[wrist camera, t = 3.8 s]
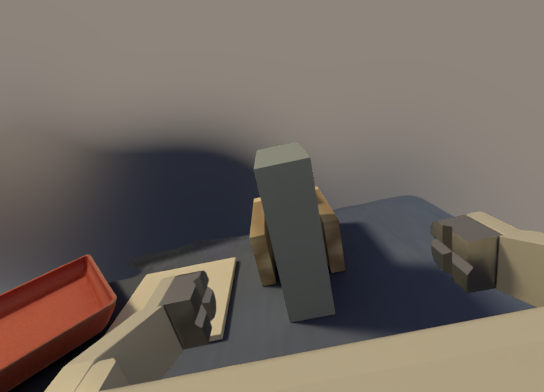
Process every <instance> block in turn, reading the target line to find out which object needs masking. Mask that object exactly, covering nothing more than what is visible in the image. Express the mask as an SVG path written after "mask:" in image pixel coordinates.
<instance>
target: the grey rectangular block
mask: <svg viewBox="0 0 544 392" xmlns="http://www.w3.org/2000/svg"><path fill="white" fill-rule="evenodd" d="M254 173H255V176H256V181H257V185H258V189H259V194H260V198H261V202H262V206H263V211H264V215H265V219H266V223H267V227H268V232H269V236H270V240H271V244H272V248H273V252H274V257H275V261H276V265H277V269H278V273H279V278H280V282H281V286H282V290H283V294H284V299H285V303H286V307H287V311H288V315H289V320H290V322H296V321H301V320H307V319H312V318H317V317H323V316H328V315H334V314H335V308H334V302H333V296H332V290H331V283H330V277H329V271H328V265H327V259H326V253H325V246H324V240H323V234H322V228H321V222H320V216H319V209H318V203H317V197H316V191H315V185H314V178H313V172H312V166H311V160H310V157H309V156H308V154H307V153H306V152H305V151H304V150H303V149H302V148H301V146H300V145H299V144H298V143H297V142H294V143H289V144H285V145H280V146H275V147H271V148H266V149H261V150H258V151H257V153H256V159H255V165H254Z"/></svg>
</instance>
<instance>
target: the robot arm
mask: <svg viewBox="0 0 544 392" xmlns="http://www.w3.org/2000/svg"><path fill="white" fill-rule="evenodd" d="M431 234H432V235H433V236H434V237H435V240H434V241H433V243H432V244H431V249H432V255H433V258H434V260H435V262H436V264H437V265H438V266H439V267H440V268H441V269H442V270H443V271H445V272H447V273H450V274H452V280H454V281H455V282H456V283H457V284H458V285H459V286H460V287H461V288H462V289H463V290H464V291H466V292H467V293H471V292H477V291H483V290H489V289H495V288H496V290H499V291H501V292H503V293H505V294H508V295H510V296H512V297H515V298H517V299H519V300H522V301H524V302H526V303H529V304H531V305H533V306H536V307H538V308H533V309H527V310H522V311H517V312H512V313H507V314H501V315H496V316H491V317H486V318H480V319H475V320H470V321H465V322H459V323H454V324H449V325H444V326H438V327H433V328H428V329H423V330H418V331H412V332H407V333H402V334H397V335H391V336H386V337H381V338H376V339H371V340H365V341H360V342H355V343H350V344H345V345H339V346H334V347H329V348H324V349H318V350H313V351H308V352H303V353H297V354H292V355H287V356H282V357H276V358H271V359H266V360H261V361H255V362H250V363H245V364H240V365H234V366H229V367H224V368H219V369H214V370H208V371H203V372H198V373H193V374H187V375H182V376H177V377H172V378H166V379H162V378H163V376H164V375H165V374H166V372H167V371H168V370H169V369H170V367H171V366H172V365H173V364H174V362H175V361H176V360H177V358H178V357H179V356H180V355H181V353H182V352H183V350H184V349H188V348H193V347H197V346H202V345H206V344H208V343H209V339H210V335H211V331H212V325H211V323H210V322H211V321H212V320H213V319H214V317H215V314H216V299H215V295H214V292H213V290H212V289H211V288H209V287H208V286H207V285H208V282H209V278H208V276H207V273H206V272H205V271H204V270H203V271H197V272H192V273H187V274H182V275H177V276H171V277H167V278H164V279H161V281H160V283H159V284H158V286H157V288H156V289H155V291H154V292H153V294H152V296H151V297H150V299H149V301H148V302H147V304H146V305H145V307H144V309H143V310H138V311H137V312H136V313H134V314H133V315H132V316H130V317H129V318H128V319H126V320H125V321H124V322H123V323H121V324H120V325H119V326H117V327H116V328H115V329H113V330H112V331H111V332H109V333H108V334H107V335H105V336H104V337H103V338H101V339H100V340H99V341H97V342H96V343H95V344H93V345H92V346H91V347H89V348H88V349H87V350H85V351H84V352H83V353H81V354H80V355H79V356H77V357H76V358H75V359H73V360H72V361H71V362H69V363H68V364H67V365H65V366H64V367H63V368H62V369H61V371H60V372H59V373H58V375H57V376H56V377H55V378H54V380H53V381H52V382H51V384H50V385H49V386H48V387H47V389H46V390H45V391H44V392H544V233H542V232H536V231H529V230H526V231H521V230H519V229H517V228H515V227H513V226H511V225H509V224H506V223H504V222H502V221H500V220H498V219H496V218H494V217H491V216H490V215H488V214H486V213H483V212H473V213H469V214H465V215H461V216H457V217H452V218H448V219H444V220H440V221H436V222H432V225H431Z"/></svg>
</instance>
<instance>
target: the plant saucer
mask: <svg viewBox="0 0 544 392" xmlns="http://www.w3.org/2000/svg"><path fill="white" fill-rule="evenodd" d="M116 300H117V296H116V295H115V293H114V292H113V290H112V289H111V287H110V285H109V284H108V282H107V281H106V279H105V278H104V276H103V275H102V273H101V271H100V270H99V268H98V267H97V265H96V264H95V262H94V260H93V259H92V257H91V255H85V256H82V257H80V258H78V259H77V260H74V261H72V262H70V263H67V264H65V265H63V266H61V267H59V268H57V269H54V270H52V271H50V272H48V273H46V274H44V275H42V276H39V277H37V278H35V279H33V280H31V281H29V282H26V283H25V284H22V285H20V286H18V287H16V288H14V289H12V290H9V291H7V292H5V293H3V294H1V295H0V392H8V391H9V390H11V389H13V388H14V387H16V386H17V385H19V384H20V383H22V382H23V381H25V380H27V379H28V378H30V377H31V376H33V375H34V374H36V373H37V372H39V371H41V370H42V369H44V368H45V367H47V366H48V365H50V364H52V363H53V362H55V361H56V360H58V359H59V358H61V357H63V356H64V355H66V354H67V353H69V352H70V351H72V350H73V349H75V348H77V347H78V346H80V345H81V344H83V343H84V342H86V341H87V340H89V339H91V338H92V337H94V336H95V335H97V334H98V333H100V332H101V331H102V330H103V329H104V328H105V327H106V325H107V324H108V321H109V319H110V317H111V315H112V313H113V311H114V308H115V305H116Z"/></svg>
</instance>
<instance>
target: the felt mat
mask: <svg viewBox="0 0 544 392" xmlns="http://www.w3.org/2000/svg"><path fill="white" fill-rule="evenodd" d="M236 262H237V261H236V257H234V258H229V259H224V260H219V261H213V262H208V263H203V264H198V265H193V266H188V267H183V268H178V269H173V270H168V271H163V272H158V273H153V274H148V275H146V276H145V278H144V279H143V280H142V282H141V283H140V285H139V286H138V288H137V289H136V291H135V292H134V293H133V295H132V296H131V298H130V299H129V301H128V302H127V303H126V305H125V306H124V308H123V309H122V311H121V312H120V313H119V315H118V316H117V318H116V319H115V321H114V322H113V324H112V325H111V326H110V328H109V329H108V331H107V332H106V334H105V335H107V334H108V333H109V332H111V331H112V330H113V329H115V328H116V327H117V326H119V325H120V324H121V323H123V322H124V321H125V320H126V319H128V318H129V317H130V316H132V315H133V314H134V313H136V312H137V311H138V310H143V309H144V307H145V305H146V304H147V302H148V301H149V299H150V297H151V296H152V294H153V292H154V291H155V289H156V288H157V286H158V284H159V283H160V281H161V279H164V278H167V277H171V276H177V275H182V274H187V273H192V272H197V271H203V270H204V271H205V272H206V273H207V276H208V278H209V282H208V285H207V286H208V287H209V288H211V289H212V290H213V292H214V295H215V299H216V314H215V317H214V319H213V320H212V321H211V322H210V323H211V325H212V331H211V335H210V339H209V342H210V341H216V340H221V339H223V334H224V329H225V323H226V317H227V312H228V306H229V301H230V295H231V290H232V284H233V279H234V273H235V267H236ZM105 335H104V336H105ZM104 336H103V337H104Z"/></svg>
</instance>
